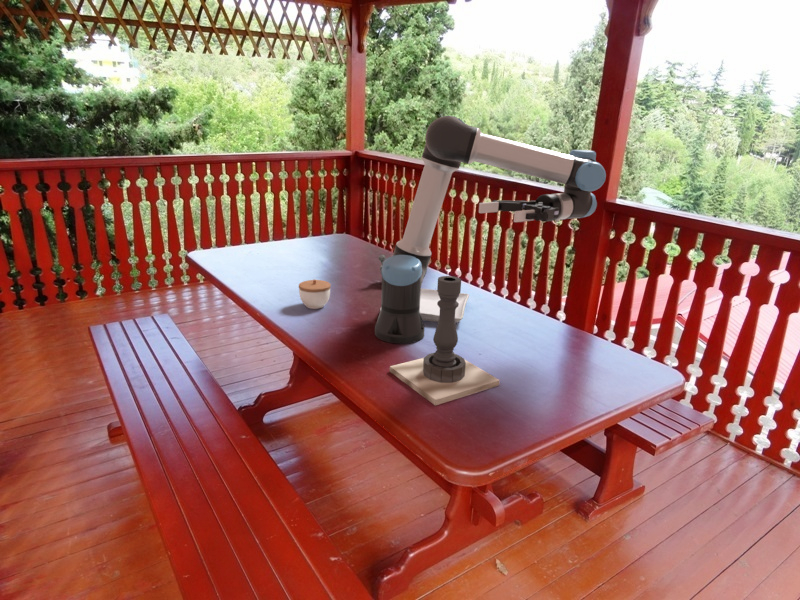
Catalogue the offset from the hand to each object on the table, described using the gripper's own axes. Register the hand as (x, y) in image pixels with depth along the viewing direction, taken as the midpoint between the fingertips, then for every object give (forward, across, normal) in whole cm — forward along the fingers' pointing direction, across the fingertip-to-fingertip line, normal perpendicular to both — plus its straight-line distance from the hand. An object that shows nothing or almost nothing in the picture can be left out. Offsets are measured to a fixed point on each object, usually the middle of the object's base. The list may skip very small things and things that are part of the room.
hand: (496, 212), depth 143 cm
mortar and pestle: (-10, +67, -40) cm, 79 cm away
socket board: (+21, -8, -40) cm, 46 cm away
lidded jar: (+27, +57, -40) cm, 75 cm away
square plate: (-5, +36, -41) cm, 55 cm away
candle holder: (+21, -8, -39) cm, 45 cm away
